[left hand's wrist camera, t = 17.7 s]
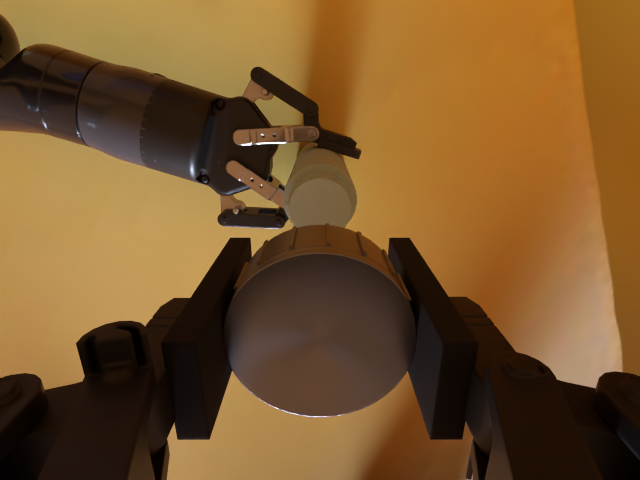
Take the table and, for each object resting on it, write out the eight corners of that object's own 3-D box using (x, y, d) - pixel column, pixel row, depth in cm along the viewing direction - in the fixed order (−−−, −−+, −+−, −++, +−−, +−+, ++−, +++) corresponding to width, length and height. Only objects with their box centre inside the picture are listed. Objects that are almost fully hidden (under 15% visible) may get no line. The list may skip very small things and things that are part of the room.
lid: (296, 391, 13) (292, 445, 11) (203, 277, 12) (177, 315, 10) (430, 323, 12) (452, 368, 10) (347, 189, 11) (354, 209, 9)
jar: (343, 140, 38) (361, 169, 21) (342, 186, 39) (358, 246, 23) (296, 139, 38) (278, 169, 21) (297, 186, 39) (281, 246, 23)
